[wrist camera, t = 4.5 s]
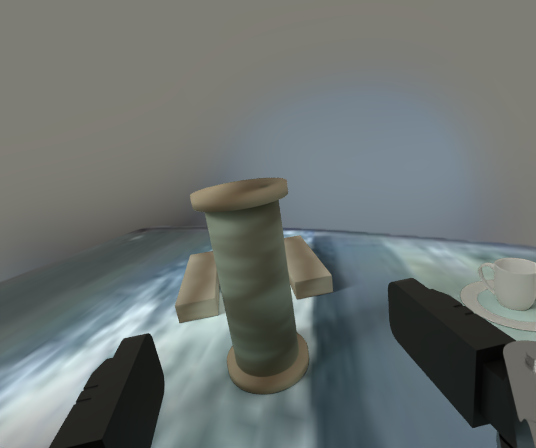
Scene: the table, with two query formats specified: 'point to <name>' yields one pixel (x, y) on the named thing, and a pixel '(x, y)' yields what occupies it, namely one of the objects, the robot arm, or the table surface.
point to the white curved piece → (505, 290)
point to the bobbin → (254, 283)
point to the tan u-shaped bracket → (207, 282)
